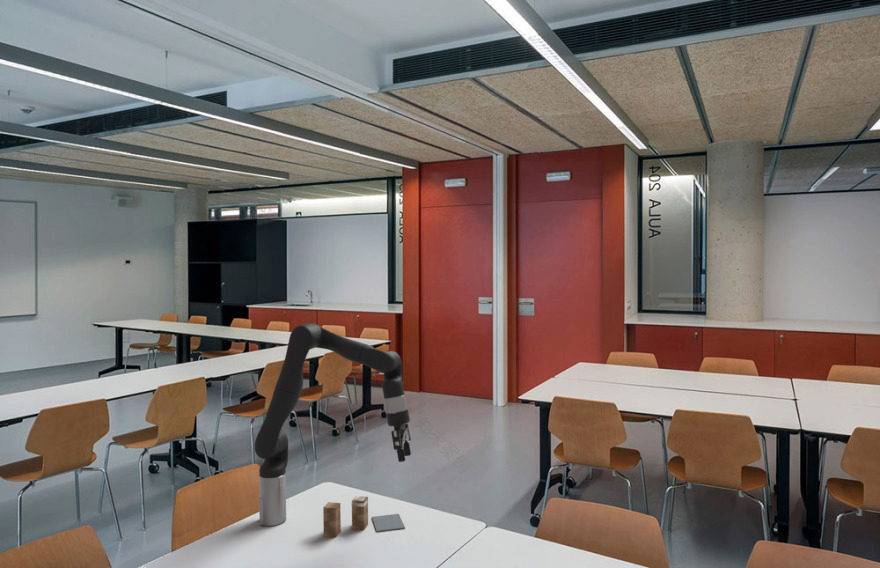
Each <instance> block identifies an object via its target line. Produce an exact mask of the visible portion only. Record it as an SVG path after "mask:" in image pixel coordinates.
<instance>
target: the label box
mask: <svg viewBox="0 0 880 568" xmlns="http://www.w3.org/2000/svg"><path fill="white" fill-rule="evenodd" d="M368 526H369V496H363V495H355V496H354V498H353V499H351V529H352V530H358V531H359V530H360V531H365V530H366V528H367V527H368Z"/></svg>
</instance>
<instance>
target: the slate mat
mask: <svg viewBox="0 0 880 568" xmlns="http://www.w3.org/2000/svg"><path fill="white" fill-rule="evenodd" d="M371 520H372V523H373V526H374V528H375V531H376V533H381V532H382V533H383V532H388V531H389V532H390V531H398V530H405V529H406V526H405V524H404V523H403V520H402V518H401V515H400V514H399V513H394V514H384V515H377V516H371Z"/></svg>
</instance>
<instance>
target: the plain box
mask: <svg viewBox="0 0 880 568" xmlns="http://www.w3.org/2000/svg"><path fill="white" fill-rule="evenodd" d="M322 508H323V510H322V511H323V514H322V515H323V516H322V517H323V519H322V520H323V537H327V538H328V537H329V538H337V537H338V536H339V535H340V534H341V531H342V528H341V526H342V524H341V522H342V520H341V518H342V517H341V515H342V514H341V502H331V501H329V502H327V503H326V504H325V505H324V506H323V507H322Z"/></svg>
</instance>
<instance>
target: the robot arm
mask: <svg viewBox="0 0 880 568" xmlns="http://www.w3.org/2000/svg"><path fill="white" fill-rule="evenodd" d="M314 348H315V349H316V348H318V349H324V350H327V351H331V352H333V353H335V354H337V355H339V357H342V358H344V359H346V360H348V361H350V362H353V363H357V364H360V365H363V366H366V367H368V368H370V369H372V370H375V371H377V372H378V373H379V372H380V373H383V377H384V380H383V382H382V394H383V398H384V400H383V401H384V409H385V410H384V411H385V416H386V421H387V426H388V427H393V430H391V433H390V434H391V439H392V445H393V446H392V447H393V449H394V451H396V453H397V459H398V460H397V461H398V462H399V463H401V462H405V461H406V457H410V456H411V455H412V451H411V445H410V443H411V439H412V438H411V434H410V428H409V424H408V423H410V421H411V420H410V414H409V409H408V402H407V399H406V395H405V390H404V384H403V362H402V359H401V357H400V355H399V354H398V353H397V352H396V351H394V350H390V351H383V350H380V349H378V348H377V349H376V348H374V346H372V345H369V344H367V343H363V342H362V341H361V342H360V341H357V340H354V339H351V338H347V337H344V336H342V335H338V334H336V333H335V332H331V331H330V330H327V329H326V328H324V327H322V326H320V325H318V324H315V323H313V322H308V323H303V324H299V325H297V326H294V328H293V329H292V331H291V332H290V335H289V339H288V343H287V348H286V353H285V357H284V360H283V364H282V366H281V369H280V372H279V376H278V379H277V381H276V384H275V387H274V390H273V392H272V397H271V399H270V402H269V405H268V408H267V411H266V415H265V416H264V420H263V423H262V425H261V427H260V428H259V431H258V433H257V435H256V438H255V439H254V440H255V441H254V452H255V454H256V456H257V457H258V458H260V459H263V463H262V464H261V465H260V466H259V469H258V470H259V471H258V472H259V473H258V476H259V479H258V482H259V500H258V501H259V502H258V503H259V505H258V506H259V507H258V508H259V510H258V511H259V514H258V515H259V526H265V527H273V526H274V527H275V526H279V525H281V524H283V523H285V522H286V521H287V497H286V496H287V489H286V488H287V482H286V481H287V480H286V474H287V466H288V462H289V439H288V435H287V433H286V431H284V430H283V427H284V424H285V422H286V421H287V419H288V418H289V417H290V415H291V414H292V412H293V411H294V409H295V408H296V407H297V405H298V402H299V400H300V397H301V394H302V391H303V386H304V371H303V370H304V364H305V361H306V359H307V357H308V354H309V351H310V350H312V349H314Z"/></svg>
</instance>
